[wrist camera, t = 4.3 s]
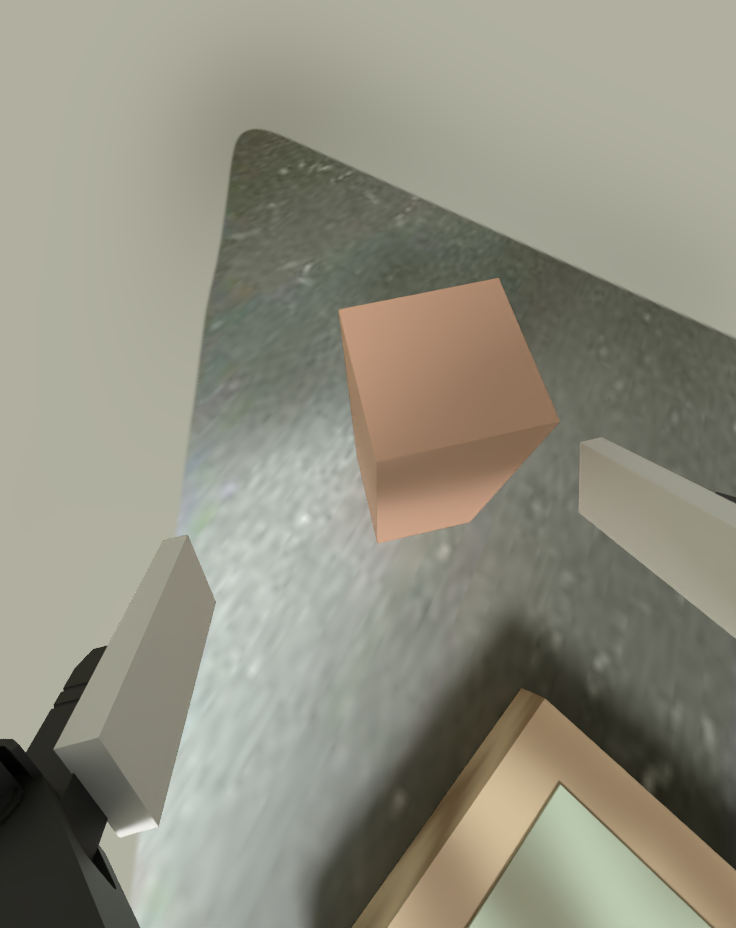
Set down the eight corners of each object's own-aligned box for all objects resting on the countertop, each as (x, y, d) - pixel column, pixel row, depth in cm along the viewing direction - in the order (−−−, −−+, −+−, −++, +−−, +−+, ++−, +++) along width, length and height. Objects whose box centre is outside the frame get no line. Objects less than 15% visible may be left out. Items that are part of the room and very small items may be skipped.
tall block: (443, 437, 24) (498, 277, 13) (469, 522, 23) (559, 421, 11) (356, 456, 24) (338, 309, 13) (377, 543, 22) (376, 461, 11)
